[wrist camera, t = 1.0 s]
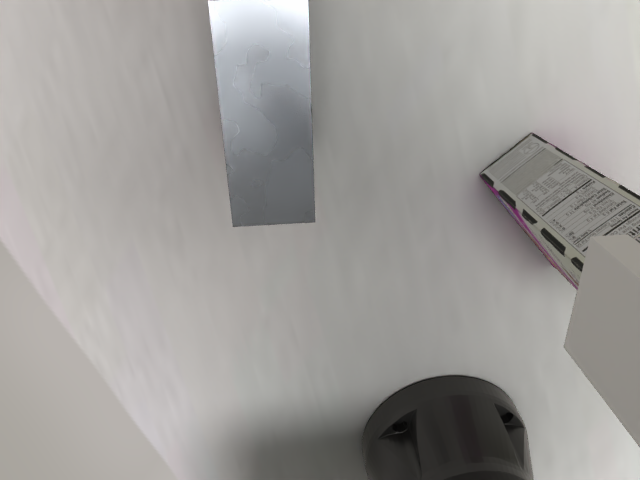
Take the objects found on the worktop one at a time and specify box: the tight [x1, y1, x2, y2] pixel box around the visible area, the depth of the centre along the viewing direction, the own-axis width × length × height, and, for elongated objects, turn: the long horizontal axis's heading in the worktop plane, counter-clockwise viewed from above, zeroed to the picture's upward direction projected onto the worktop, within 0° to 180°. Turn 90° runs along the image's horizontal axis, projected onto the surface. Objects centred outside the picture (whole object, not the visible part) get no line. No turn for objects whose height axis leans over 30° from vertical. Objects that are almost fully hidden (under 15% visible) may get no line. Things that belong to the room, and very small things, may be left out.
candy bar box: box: [480, 133, 640, 290], centre depth 33 cm, size 11×5×16 cm, turn 43°
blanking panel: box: [208, 0, 315, 227], centre depth 29 cm, size 10×4×12 cm, turn 1°
